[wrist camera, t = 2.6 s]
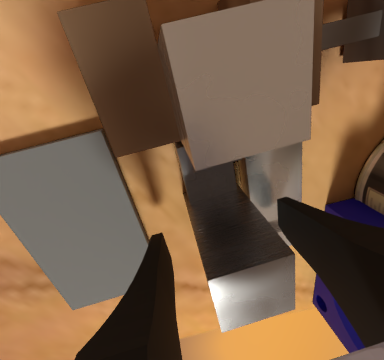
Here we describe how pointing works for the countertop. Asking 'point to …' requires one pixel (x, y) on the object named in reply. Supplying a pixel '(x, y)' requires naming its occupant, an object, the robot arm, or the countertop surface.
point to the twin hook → (245, 93)
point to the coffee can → (372, 181)
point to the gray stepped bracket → (236, 247)
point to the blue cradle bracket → (322, 296)
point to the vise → (153, 71)
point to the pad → (74, 216)
